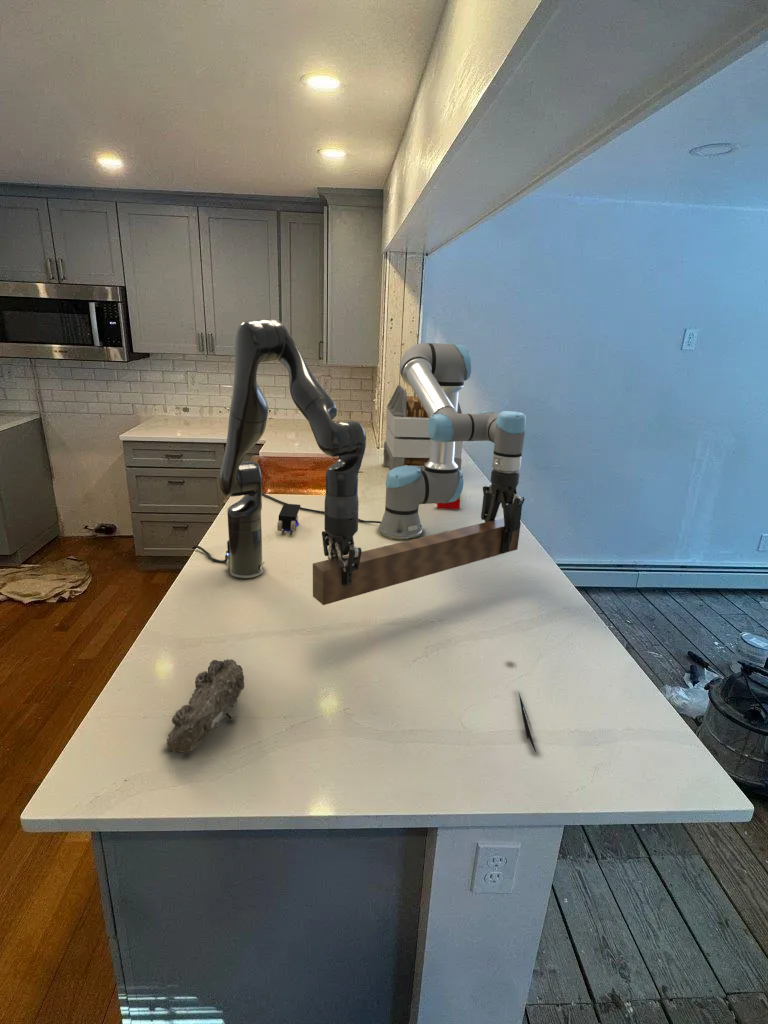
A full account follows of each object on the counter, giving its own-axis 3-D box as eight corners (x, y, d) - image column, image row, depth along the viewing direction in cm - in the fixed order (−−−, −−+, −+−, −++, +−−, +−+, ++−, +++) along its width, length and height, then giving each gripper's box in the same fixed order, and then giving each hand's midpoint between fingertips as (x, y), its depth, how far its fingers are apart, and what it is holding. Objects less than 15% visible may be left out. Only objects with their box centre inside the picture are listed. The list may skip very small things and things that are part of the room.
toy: (454, 466, 251) (466, 476, 222) (452, 496, 254) (463, 510, 225) (427, 466, 251) (435, 475, 222) (425, 495, 254) (433, 509, 224)
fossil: (192, 660, 117) (244, 628, 112) (224, 691, 120) (276, 661, 115) (142, 746, 98) (202, 712, 93) (182, 779, 101) (242, 748, 96)
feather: (511, 668, 129) (516, 662, 128) (535, 756, 102) (542, 749, 102) (505, 664, 129) (510, 658, 128) (527, 751, 102) (534, 744, 101)
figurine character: (296, 541, 193) (301, 521, 206) (295, 521, 189) (301, 502, 203) (276, 540, 193) (283, 520, 206) (275, 520, 189) (282, 501, 203)
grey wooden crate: (382, 463, 289) (386, 382, 275) (445, 464, 293) (451, 384, 279) (390, 482, 257) (394, 392, 243) (460, 483, 261) (468, 394, 247)
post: (504, 543, 166) (507, 516, 164) (517, 549, 163) (520, 522, 160) (312, 596, 132) (312, 563, 129) (323, 605, 128) (323, 571, 125)
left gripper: (311, 504, 129) (311, 572, 135) (343, 524, 118) (342, 596, 124) (339, 499, 134) (338, 565, 139) (373, 518, 123) (371, 588, 128)
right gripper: (472, 463, 158) (465, 540, 166) (521, 479, 144) (511, 563, 152) (491, 460, 162) (483, 536, 170) (541, 476, 148) (530, 557, 156)
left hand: (340, 579), depth 132 cm, fingers closed on post, 5 cm apart
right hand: (496, 548), depth 161 cm, fingers closed on post, 5 cm apart
